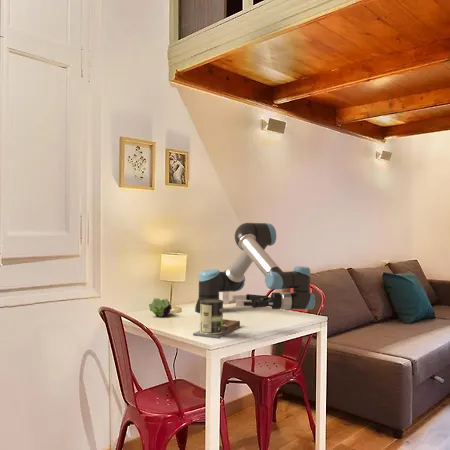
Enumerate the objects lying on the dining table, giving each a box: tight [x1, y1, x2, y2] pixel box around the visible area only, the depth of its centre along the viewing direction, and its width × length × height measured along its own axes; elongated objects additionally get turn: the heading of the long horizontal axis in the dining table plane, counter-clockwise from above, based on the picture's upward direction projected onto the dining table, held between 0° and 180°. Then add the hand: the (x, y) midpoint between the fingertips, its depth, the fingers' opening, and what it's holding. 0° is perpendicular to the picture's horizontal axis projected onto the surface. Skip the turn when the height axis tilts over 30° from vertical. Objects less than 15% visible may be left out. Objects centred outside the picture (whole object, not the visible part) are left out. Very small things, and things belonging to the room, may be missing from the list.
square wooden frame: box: [222, 318, 241, 332], centre depth 216 cm, size 14×14×2 cm
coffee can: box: [199, 299, 224, 335], centre depth 202 cm, size 10×10×14 cm
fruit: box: [148, 297, 172, 318], centre depth 240 cm, size 10×10×15 cm
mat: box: [192, 330, 230, 339], centre depth 202 cm, size 12×12×1 cm
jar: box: [219, 292, 230, 305], centre depth 285 cm, size 9×8×12 cm
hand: (234, 300), depth 203 cm, fingers open, 13 cm apart
